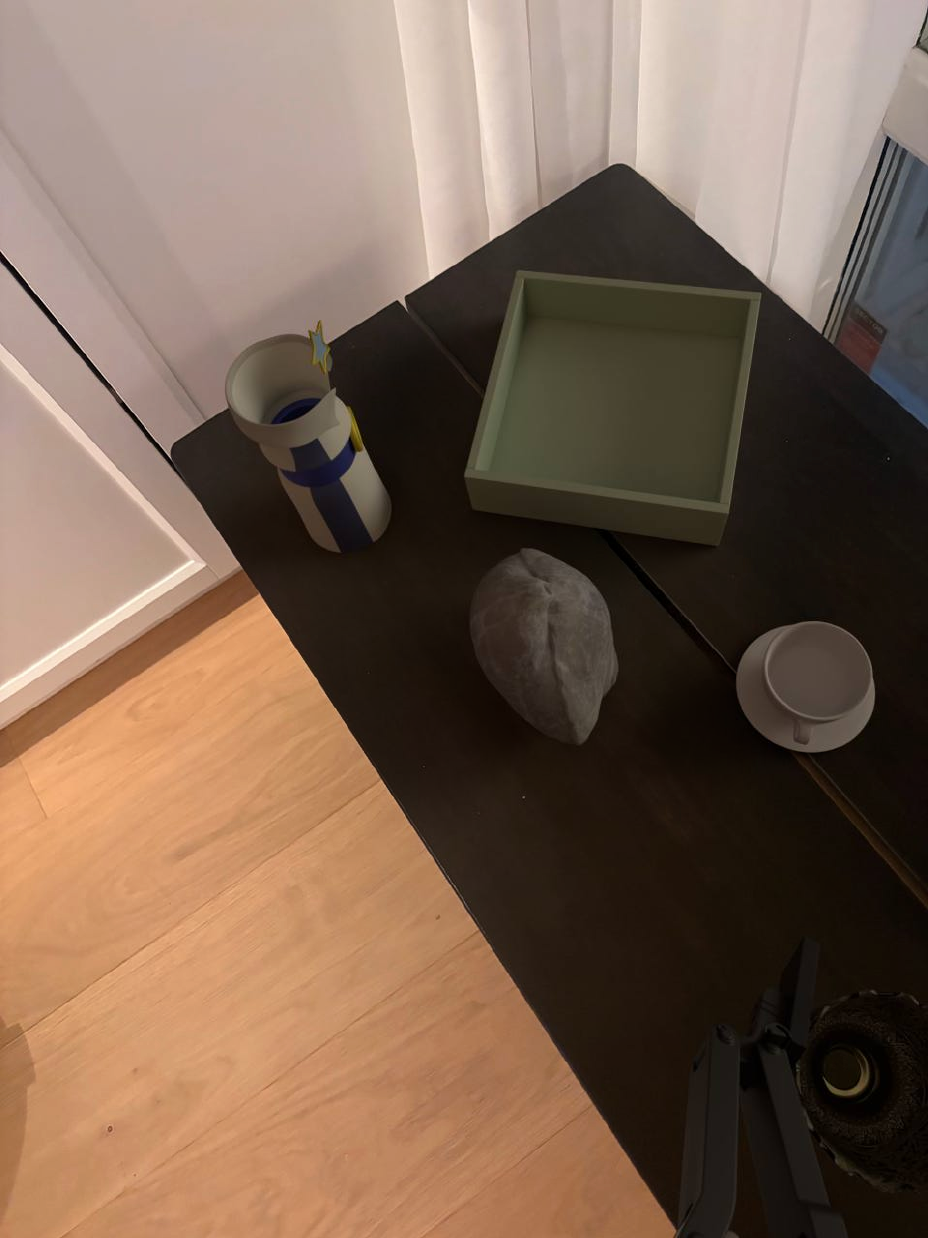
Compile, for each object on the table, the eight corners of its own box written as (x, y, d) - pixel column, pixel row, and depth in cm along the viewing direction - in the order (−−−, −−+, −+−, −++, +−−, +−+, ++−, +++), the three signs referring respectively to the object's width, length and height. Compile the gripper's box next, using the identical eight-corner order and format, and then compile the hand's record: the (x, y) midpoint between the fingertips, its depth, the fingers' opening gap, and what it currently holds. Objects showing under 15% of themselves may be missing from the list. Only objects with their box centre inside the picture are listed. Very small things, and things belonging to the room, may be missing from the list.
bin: (718, 546, 74) (728, 513, 68) (472, 510, 78) (463, 476, 72) (749, 337, 80) (761, 292, 75) (521, 313, 84) (516, 269, 79)
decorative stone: (649, 734, 69) (664, 677, 55) (521, 780, 69) (504, 735, 55) (578, 565, 75) (575, 474, 61) (459, 608, 75) (429, 527, 61)
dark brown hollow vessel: (956, 1092, 43) (1033, 1119, 36) (837, 1191, 42) (890, 1239, 35) (844, 955, 46) (894, 953, 39) (730, 1046, 45) (758, 1062, 38)
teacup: (746, 615, 71) (757, 592, 67) (880, 641, 69) (899, 619, 65) (725, 737, 68) (734, 721, 64) (864, 768, 66) (883, 754, 62)
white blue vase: (382, 455, 81) (300, 250, 58) (406, 537, 78) (329, 356, 54) (294, 483, 81) (176, 290, 58) (314, 566, 78) (198, 397, 55)
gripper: (470, 1454, 27) (653, 950, 46) (1222, 1999, 22) (1077, 1171, 41) (538, 1333, 24) (706, 842, 43) (1458, 1948, 18) (1177, 1068, 37)
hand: (887, 1003), depth 42 cm, fingers closed on dark brown hollow vessel, 7 cm apart
